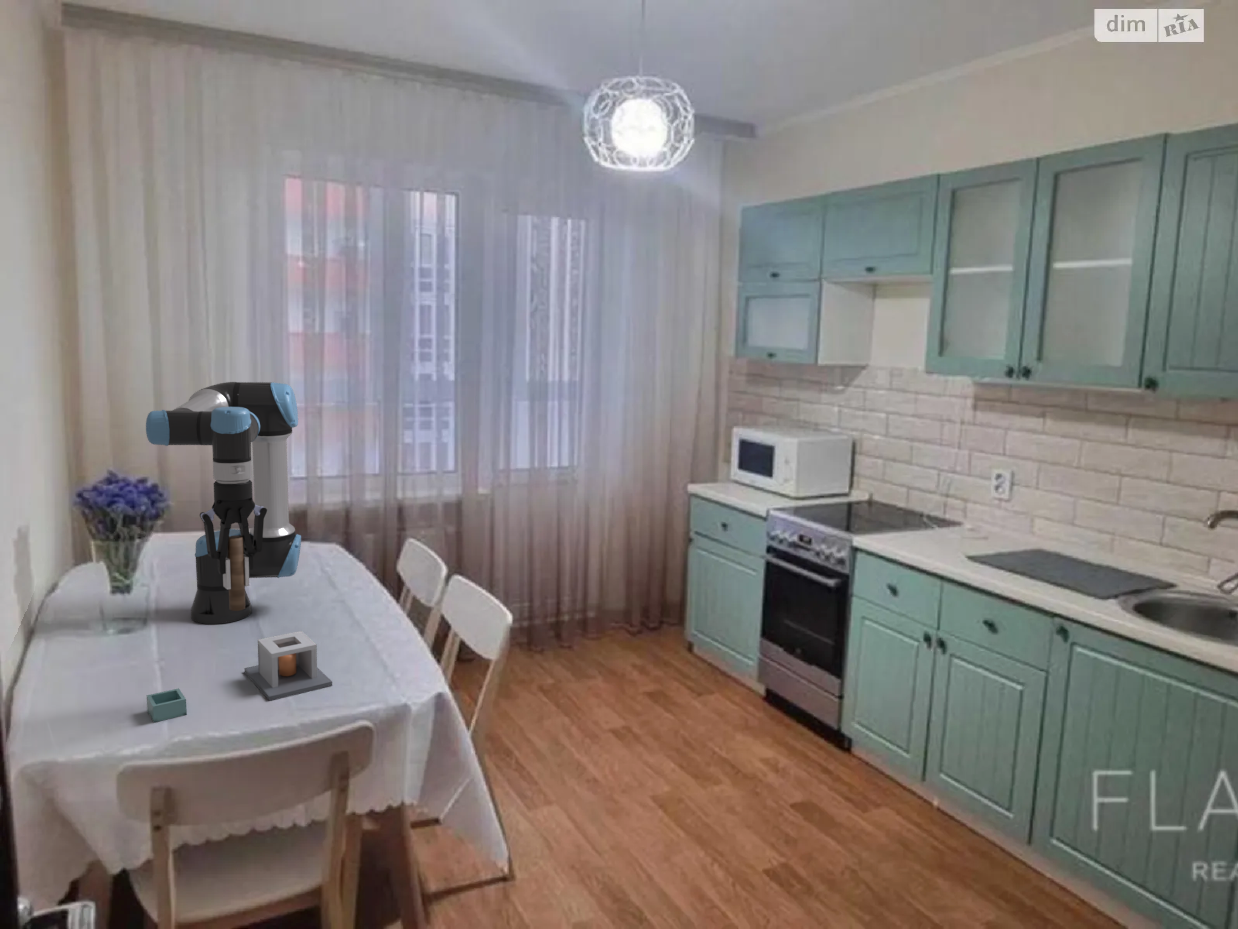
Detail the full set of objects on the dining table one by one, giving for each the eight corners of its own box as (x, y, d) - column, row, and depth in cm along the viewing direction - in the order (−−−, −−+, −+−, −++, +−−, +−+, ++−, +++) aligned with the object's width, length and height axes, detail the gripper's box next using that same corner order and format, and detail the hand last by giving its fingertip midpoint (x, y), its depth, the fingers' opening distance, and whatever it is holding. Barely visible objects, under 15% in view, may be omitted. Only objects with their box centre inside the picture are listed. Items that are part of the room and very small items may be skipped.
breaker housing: (244, 672, 201) (243, 635, 199) (304, 659, 210) (303, 624, 208) (269, 701, 187) (268, 662, 186) (332, 685, 196) (331, 648, 194)
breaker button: (276, 671, 198) (276, 653, 198) (293, 668, 201) (292, 650, 200) (282, 677, 196) (281, 659, 195) (298, 673, 198) (298, 655, 197)
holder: (147, 711, 180) (146, 695, 180) (179, 703, 184) (178, 688, 184) (153, 722, 176) (152, 706, 175) (186, 714, 179) (186, 699, 179)
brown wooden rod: (227, 607, 187) (225, 536, 184) (242, 604, 189) (240, 534, 186) (232, 611, 185) (229, 540, 182) (247, 609, 187) (245, 537, 184)
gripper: (196, 487, 174) (201, 597, 178) (277, 479, 185) (280, 584, 189) (186, 480, 180) (191, 587, 184) (265, 474, 190) (268, 575, 194)
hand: (236, 585), depth 186 cm, fingers closed on brown wooden rod, 3 cm apart
